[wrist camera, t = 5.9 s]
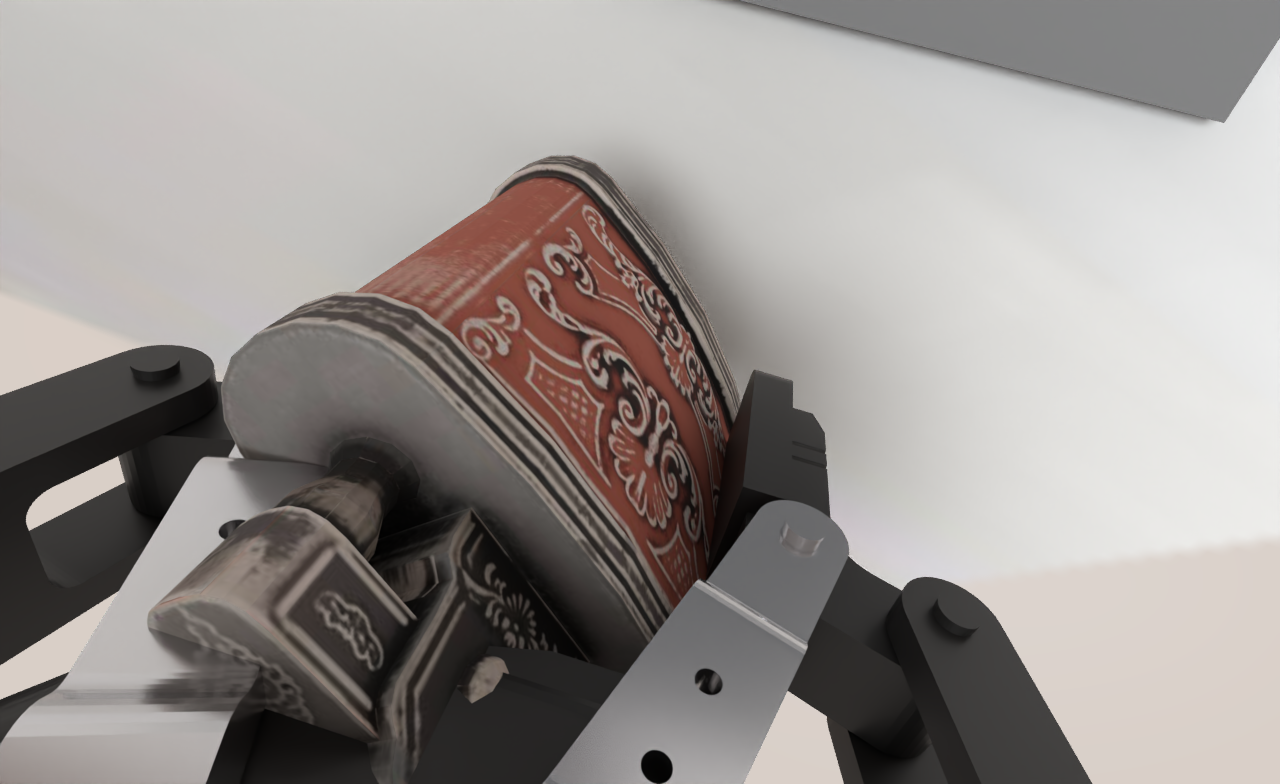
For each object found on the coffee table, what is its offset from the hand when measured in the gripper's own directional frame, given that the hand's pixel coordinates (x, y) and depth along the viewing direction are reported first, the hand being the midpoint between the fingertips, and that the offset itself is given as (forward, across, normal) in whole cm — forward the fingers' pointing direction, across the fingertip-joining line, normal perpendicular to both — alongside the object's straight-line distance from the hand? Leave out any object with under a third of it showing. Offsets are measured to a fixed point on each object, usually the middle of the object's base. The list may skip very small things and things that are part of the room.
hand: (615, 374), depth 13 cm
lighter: (+2, 0, 0) cm, 2 cm away
